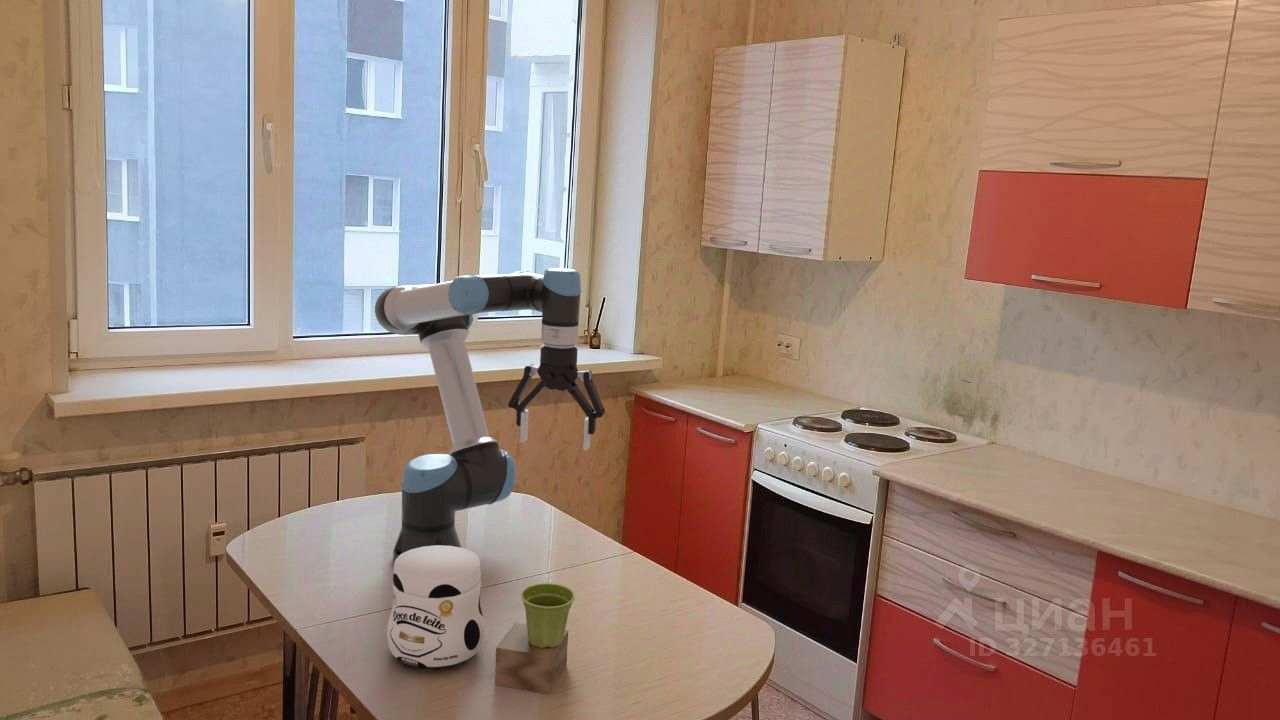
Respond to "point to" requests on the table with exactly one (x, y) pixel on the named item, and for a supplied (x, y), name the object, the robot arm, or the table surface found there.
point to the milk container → (436, 607)
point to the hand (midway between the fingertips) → (554, 445)
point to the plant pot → (547, 613)
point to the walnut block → (528, 662)
